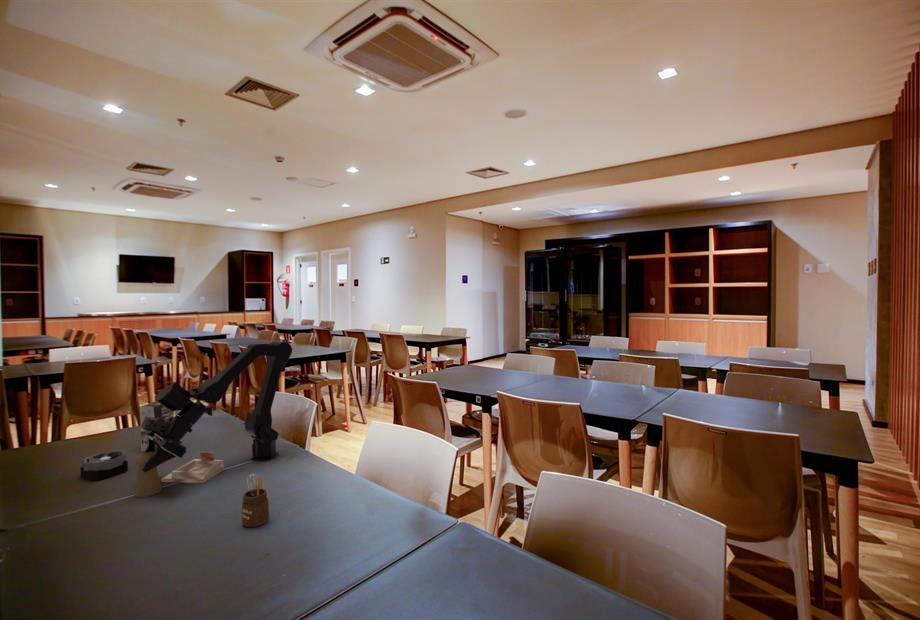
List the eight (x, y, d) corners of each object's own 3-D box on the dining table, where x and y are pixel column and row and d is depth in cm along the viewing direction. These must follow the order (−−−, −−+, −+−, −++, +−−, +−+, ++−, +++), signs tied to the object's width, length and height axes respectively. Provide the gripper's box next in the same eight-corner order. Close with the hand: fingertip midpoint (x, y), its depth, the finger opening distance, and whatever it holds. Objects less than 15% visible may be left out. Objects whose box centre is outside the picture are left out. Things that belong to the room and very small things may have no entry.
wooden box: (224, 469, 137) (223, 451, 137) (202, 483, 127) (202, 464, 127) (185, 468, 138) (184, 451, 138) (161, 481, 128) (160, 463, 128)
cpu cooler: (131, 453, 137) (92, 465, 128) (132, 471, 137) (93, 484, 128) (114, 448, 141) (75, 459, 133) (115, 465, 142) (76, 477, 133)
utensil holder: (263, 512, 110) (262, 465, 109) (273, 521, 105) (272, 472, 105) (238, 521, 106) (236, 472, 105) (247, 531, 101) (246, 480, 101)
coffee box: (158, 451, 153) (156, 406, 153) (140, 451, 153) (138, 406, 153) (176, 442, 162) (174, 399, 162) (158, 442, 163) (157, 399, 162)
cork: (166, 487, 125) (165, 449, 124) (149, 497, 119) (147, 457, 118) (147, 487, 125) (145, 449, 125) (129, 496, 119) (127, 457, 119)
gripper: (152, 399, 130) (107, 446, 122) (171, 410, 118) (121, 463, 110) (183, 419, 136) (142, 465, 129) (204, 432, 124) (160, 483, 116)
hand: (141, 468), depth 121 cm, fingers closed on cork, 5 cm apart
